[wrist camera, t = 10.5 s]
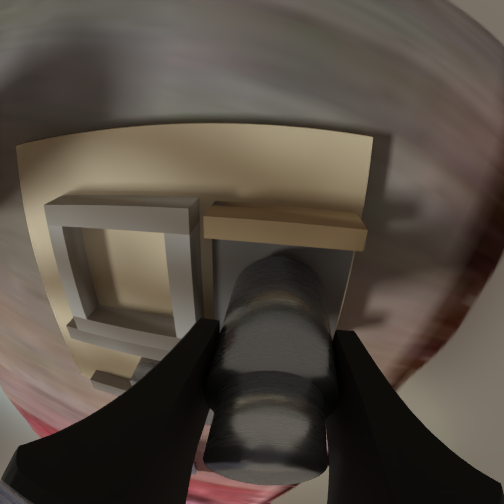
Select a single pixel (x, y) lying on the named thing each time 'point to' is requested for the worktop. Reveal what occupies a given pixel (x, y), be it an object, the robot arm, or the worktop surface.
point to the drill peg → (272, 377)
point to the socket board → (182, 227)
